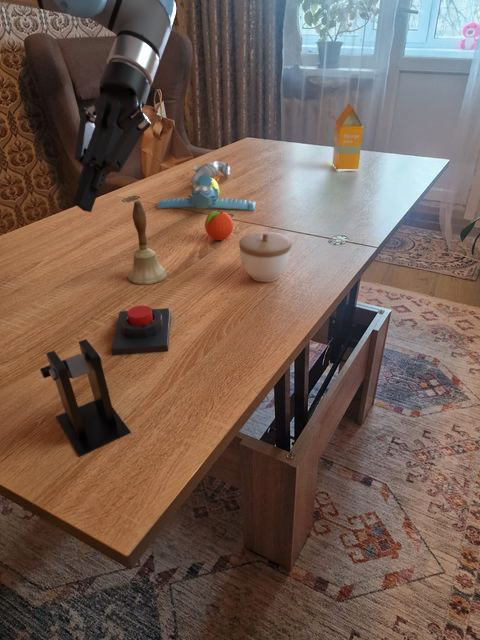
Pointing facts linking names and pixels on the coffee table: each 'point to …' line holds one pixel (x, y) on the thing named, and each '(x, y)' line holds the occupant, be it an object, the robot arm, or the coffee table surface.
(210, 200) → the blue toy plane
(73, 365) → the press lever
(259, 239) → the trinket box
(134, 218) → the hand bell
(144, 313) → the button
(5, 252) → the coffee table surface
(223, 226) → the clementine
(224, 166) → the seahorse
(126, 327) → the control block
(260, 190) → the coffee table surface
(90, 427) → the lever bracket
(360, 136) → the orange juice
